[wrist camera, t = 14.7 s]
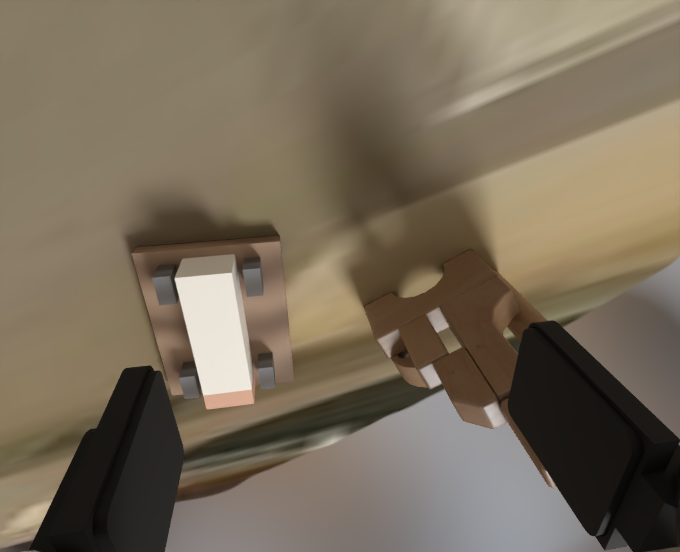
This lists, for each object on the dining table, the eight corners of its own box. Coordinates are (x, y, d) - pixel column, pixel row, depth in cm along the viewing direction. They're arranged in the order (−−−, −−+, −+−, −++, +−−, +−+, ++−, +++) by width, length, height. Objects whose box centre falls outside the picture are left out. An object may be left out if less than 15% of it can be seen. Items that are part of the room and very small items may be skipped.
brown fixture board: (135, 247, 42) (123, 265, 38) (279, 235, 43) (280, 252, 40) (174, 386, 50) (167, 411, 47) (293, 372, 52) (295, 395, 48)
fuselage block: (182, 258, 41) (174, 278, 38) (234, 254, 42) (231, 272, 38) (211, 383, 49) (206, 409, 45) (255, 378, 50) (254, 403, 46)
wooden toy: (387, 344, 52) (472, 559, 30) (362, 306, 49) (438, 514, 27) (502, 284, 50) (681, 465, 28) (485, 239, 47) (671, 405, 25)
